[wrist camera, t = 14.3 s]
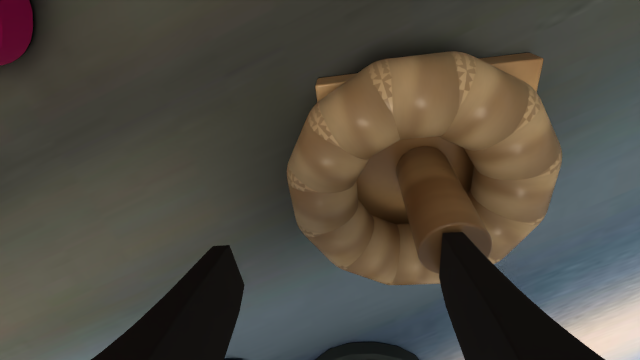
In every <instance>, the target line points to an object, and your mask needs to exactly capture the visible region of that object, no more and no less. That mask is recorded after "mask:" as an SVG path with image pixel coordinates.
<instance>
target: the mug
mask: <svg viewBox="0 0 640 360" xmlns="http://www.w3.org/2000/svg"><path fill="white" fill-rule="evenodd" d="M316 360H419V359H418V358H417V357H416V356H415V355H414V354H411V353H409V352H407V351H405V350H403V349H401V348H399V347H397V346H392V345H387V344H382V343H376V342H363V343H348V344H345V345H342V346H338V347H335V348H332V349H329V350H328V351H326V352H325V353H324V354H322V355H321V356H320V357H318V358H317V359H316Z"/></svg>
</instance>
